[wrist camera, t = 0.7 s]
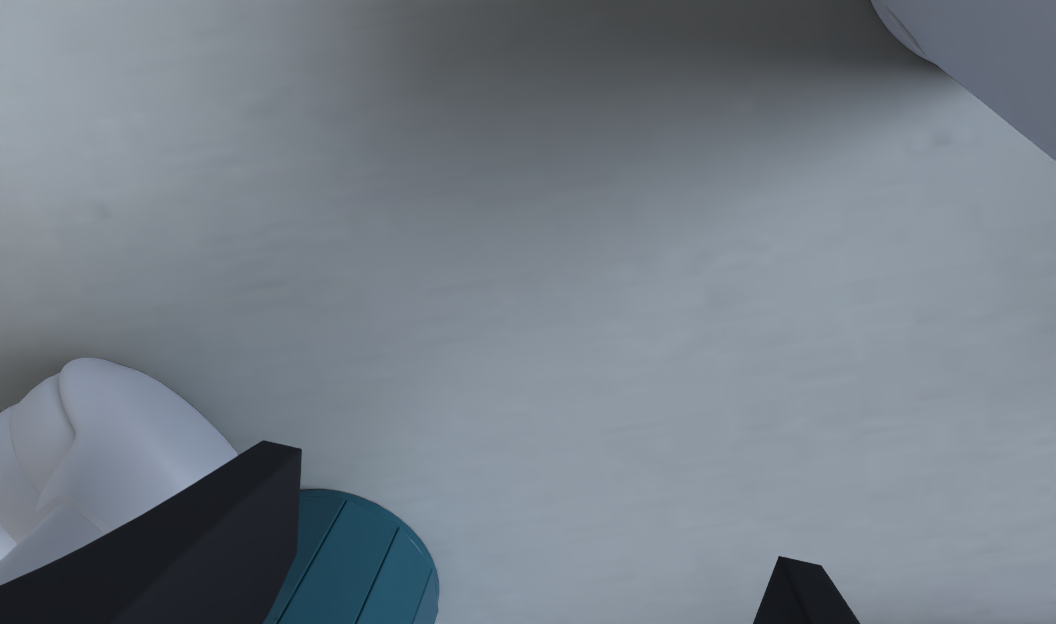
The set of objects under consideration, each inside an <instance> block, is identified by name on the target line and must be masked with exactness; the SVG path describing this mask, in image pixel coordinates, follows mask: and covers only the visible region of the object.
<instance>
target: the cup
mask: <svg viewBox="0 0 1056 624" xmlns="http://www.w3.org/2000/svg"><path fill="white" fill-rule="evenodd" d="M871 3H872V5H873V7H874V9H875V10H876V12H877V14H878V16H879V17H880V19H881V20H882V22H883V23H884V24H885V26H886V27H887V28H888V30H889V31H890V32H891V33H892V34H893V35H894V36H895V37H896V38H897V39H898V40H899V41H900V42H901V43H902V44H903V45H905V46H906V47H907V48H908V49H910V50H911V51H913V52H914V53H916V54H917V55H919V56H920V57H922V58H924V59H926V60H928V61H930V62H932V63H934V64H936V65H937V66H939V67H940V68H941V69H942V70H944V71H945V72H946V73H947V74H948V75H950V76H951V77H952V78H953V79H955V80H956V81H957V82H958V83H960V84H961V85H962V86H963V87H965V88H966V89H967V90H968V91H970V92H971V93H972V94H973V95H975V96H976V97H977V98H978V99H979V100H981V101H982V102H983V103H984V104H986V105H987V106H988V107H989V108H991V109H992V110H993V111H994V112H996V113H997V114H998V115H999V116H1001V117H1002V118H1003V119H1004V120H1005V121H1007V122H1008V123H1009V124H1010V125H1012V126H1013V127H1014V128H1015V129H1017V130H1018V131H1019V132H1020V133H1022V134H1023V135H1024V136H1025V137H1027V138H1028V139H1029V140H1030V141H1031V142H1033V143H1034V144H1035V145H1036V146H1038V147H1039V148H1040V149H1041V150H1043V151H1044V152H1045V153H1046V154H1048V155H1049V156H1050V157H1051V158H1053V159H1054V160H1055V161H1056V0H871Z"/></svg>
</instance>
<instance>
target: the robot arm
mask: <svg viewBox="0 0 1056 624" xmlns="http://www.w3.org/2000/svg"><path fill="white" fill-rule="evenodd" d="M301 453H302V449H300V448H295V447H291V446H286V445H282V444H277V443H273V442H268V441H264V440H263V441H261V442H260V443H258V444H256V445H255V446H253V447H251V448H250V449H248V450H246V451H245V452H243V453H242V454H240V455H238V456H237V457H235V458H234V459H232V460H230V461H229V462H227V463H225V464H224V465H222V466H221V467H219V468H218V469H216V470H214V471H213V472H211V473H210V474H208V475H206V476H205V477H203V478H202V479H200V480H198V481H197V482H195V483H194V484H192V485H190V486H189V487H187V488H185V489H184V490H182V491H180V492H179V493H177V494H175V495H174V496H172V497H170V498H169V499H167V500H165V501H164V502H162V503H160V504H159V505H157V506H155V507H154V508H152V509H150V510H149V511H147V512H145V513H144V514H142V515H140V516H138V517H137V518H135V519H133V520H131V521H129V522H127V523H126V524H124V525H122V526H120V527H118V528H116V529H115V530H113V531H111V532H109V533H107V534H105V535H104V536H102V537H100V538H98V539H96V540H94V541H93V542H91V543H89V544H87V545H85V546H83V547H81V548H79V549H77V550H75V551H73V552H71V553H69V554H67V555H65V556H63V557H61V558H59V559H57V560H55V561H53V562H51V563H49V564H47V565H45V566H43V567H40V568H38V569H36V570H34V571H31V572H29V573H27V574H25V575H22V576H20V577H18V578H16V579H14V580H11V581H9V582H7V583H5V584H2V585H0V624H263V622H264V621H265V619H266V617H267V616H268V614H269V612H270V610H271V608H272V606H273V604H274V602H275V600H276V598H277V596H278V594H279V592H280V590H281V587H282V585H283V583H284V581H285V579H286V577H287V574H288V572H289V570H290V568H291V565H292V563H293V561H294V559H295V557H296V554H297V547H298V524H299V500H300V477H301ZM753 624H860V623H859V621H858V620H857V618H856V617H855V615H854V614H853V612H852V611H851V609H850V608H849V606H848V605H847V603H846V602H845V600H844V599H843V597H842V596H841V594H840V593H839V591H838V590H837V588H836V586H835V585H834V583H833V582H832V580H831V579H830V578H829V576H828V575H827V573H826V572H825V570H824V569H823V567H822V566H821V565H817V564H812V563H808V562H803V561H799V560H794V559H790V558H786V557H781V556H779V557H778V560H777V562H776V565H775V568H774V570H773V573H772V575H771V578H770V581H769V583H768V586H767V588H766V591H765V594H764V596H763V599H762V602H761V604H760V607H759V609H758V612H757V615H756V617H755V620H754V622H753Z"/></svg>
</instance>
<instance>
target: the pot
mask: <svg viewBox="0 0 1056 624" xmlns="http://www.w3.org/2000/svg"><path fill="white" fill-rule="evenodd" d="M438 598H439V580H438V575H437V570H436V567H435V565H434V562H433V559H432V557H431V555H430V554H429V552H428V550H427V548H426V547H425V545H424V544H423V542H422V541H421V540H420V538H419V537H418V536H417V535H416V534H415V533H414V532H413V530H412V529H411V528H410V527H409V526H407V525H406V524H405V523H404V522H403V521H402V520H401V519H399V518H398V517H396V516H395V515H394V514H392V513H391V512H389V511H388V510H386V509H384V508H382V507H381V506H379V505H377V504H375V503H373V502H371V501H368V500H366V499H364V498H361V497H358V496H355V495H351V494H347V493H343V492H338V491H330V490H305V491H300V500H299V524H298V547H297V554H296V557H295V559H294V561H293V563H292V565H291V568H290V570H289V572H288V574H287V577H286V579H285V581H284V583H283V585H282V587H281V590H280V592H279V594H278V596H277V598H276V600H275V602H274V604H273V606H272V608H271V610H270V612H269V614H268V616H267V617H266V619H265V621H264V622H263V624H434V623H435V620H436V617H437V613H438V605H437V604H438Z"/></svg>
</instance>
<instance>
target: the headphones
mask: <svg viewBox="0 0 1056 624" xmlns="http://www.w3.org/2000/svg"><path fill="white" fill-rule="evenodd" d="M237 456H238V454H237V453H236V451H235V450H234V449H233V447H232V446H231V445H230V444H229V443H228V441H227V440H226V439H225V438H224V437H223V436H222V435H221V434H220V432H219V431H218V430H217V429H216V428H215V427H214V426H213V425H212V424H211V423H210V422H209V421H208V420H207V419H206V418H205V417H204V416H203V415H201V414H200V413H199V412H198V411H197V410H196V409H195V408H194V407H193V406H191V405H190V404H189V403H188V402H186V401H185V400H184V399H183V398H181V397H180V396H179V395H178V394H176V393H175V392H173V391H172V390H170V389H169V388H168V387H166V386H165V385H163V384H162V383H160V382H159V381H157V380H155V379H153V378H152V377H150V376H148V375H146V374H144V373H142V372H140V371H137V370H134V369H132V368H129V367H125V366H121V365H119V364H116V363H113V362H110V361H106V360H102V359H98V358H89V357H87V358H79V359H74V360H72V361H70V362H69V363H67V364H66V365H65V366H64V367H63V368H62V370H61V372H60V373H58V374H56V375H54V376H51V377H49V378H47V379H45V380H44V381H42V382H41V383H40V384H38V385H37V386H36V387H35V388H34V389H32V390H31V391H30V392H29V393H28V394H27V395H26V396H25V397H24V398H23V399H22V400H21V401H20V402H19V403H18V404H15V405H13V406H10V407H9V408H7V409H5V410H4V411H2V412H1V413H0V585H2V584H5V583H7V582H9V581H11V580H14V579H16V578H18V577H20V576H22V575H25V574H27V573H29V572H31V571H34V570H36V569H38V568H40V567H43V566H45V565H47V564H49V563H51V562H53V561H55V560H57V559H59V558H61V557H63V556H65V555H67V554H69V553H71V552H73V551H75V550H77V549H79V548H81V547H83V546H85V545H87V544H89V543H91V542H93V541H94V540H96V539H98V538H100V537H102V536H104V535H105V534H107V533H109V532H111V531H113V530H115V529H116V528H118V527H120V526H122V525H124V524H126V523H127V522H129V521H131V520H133V519H135V518H137V517H138V516H140V515H142V514H144V513H145V512H147V511H149V510H150V509H152V508H154V507H155V506H157V505H159V504H160V503H162V502H164V501H165V500H167V499H169V498H170V497H172V496H174V495H175V494H177V493H179V492H180V491H182V490H184V489H185V488H187V487H189V486H190V485H192V484H194V483H195V482H197V481H198V480H200V479H202V478H203V477H205V476H206V475H208V474H210V473H211V472H213V471H214V470H216V469H218V468H219V467H221V466H222V465H224V464H225V463H227V462H229V461H230V460H232V459H234V458H235V457H237Z"/></svg>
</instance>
